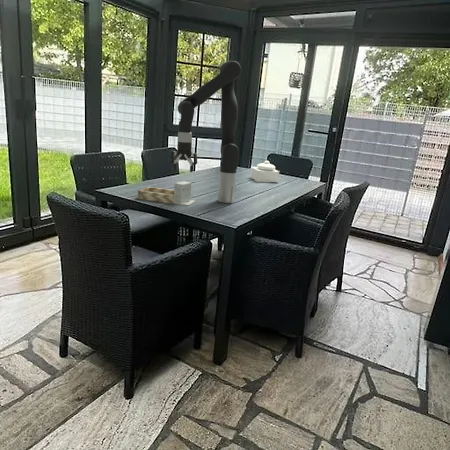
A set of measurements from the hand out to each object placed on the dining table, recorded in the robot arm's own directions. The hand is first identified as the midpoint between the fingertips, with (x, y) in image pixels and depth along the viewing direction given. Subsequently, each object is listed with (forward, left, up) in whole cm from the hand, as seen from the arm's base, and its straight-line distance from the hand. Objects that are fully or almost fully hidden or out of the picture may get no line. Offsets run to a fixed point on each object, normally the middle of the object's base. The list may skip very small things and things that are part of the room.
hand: (183, 171), depth 199 cm
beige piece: (+13, 0, -17) cm, 22 cm away
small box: (0, 0, -17) cm, 17 cm away
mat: (-1, 0, -17) cm, 17 cm away
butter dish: (-30, -102, -18) cm, 108 cm away
